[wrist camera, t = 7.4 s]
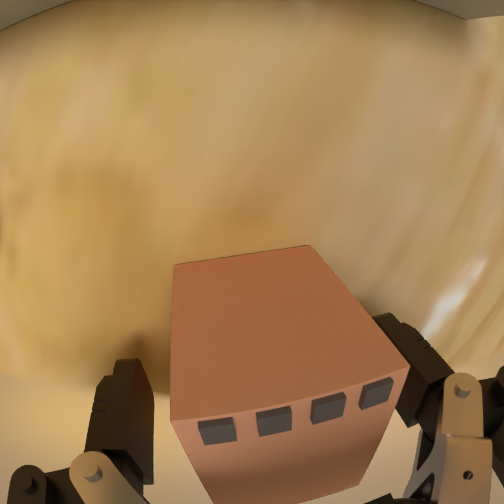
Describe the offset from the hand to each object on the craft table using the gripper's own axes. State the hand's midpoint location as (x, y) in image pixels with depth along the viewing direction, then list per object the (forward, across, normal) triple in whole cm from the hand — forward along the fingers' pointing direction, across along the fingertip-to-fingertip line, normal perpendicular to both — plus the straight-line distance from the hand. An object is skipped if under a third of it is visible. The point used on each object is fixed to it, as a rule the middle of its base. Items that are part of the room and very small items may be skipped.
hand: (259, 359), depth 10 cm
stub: (+2, 0, 0) cm, 2 cm away
